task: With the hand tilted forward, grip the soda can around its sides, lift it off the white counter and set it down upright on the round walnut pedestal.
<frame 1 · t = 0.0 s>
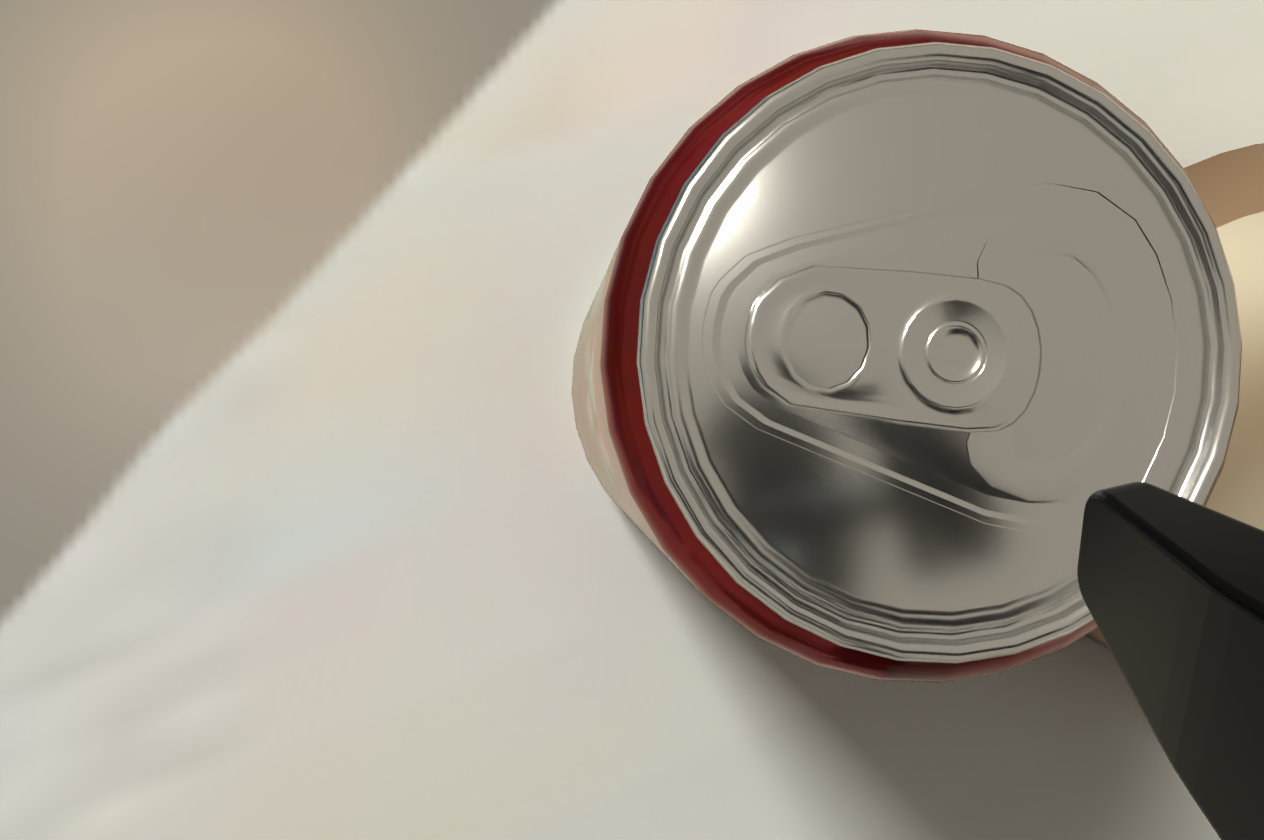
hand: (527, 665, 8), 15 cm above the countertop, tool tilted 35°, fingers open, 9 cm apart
soda can: (739, 388, 24), on the countertop
pedestal: (1213, 423, 24), on the countertop
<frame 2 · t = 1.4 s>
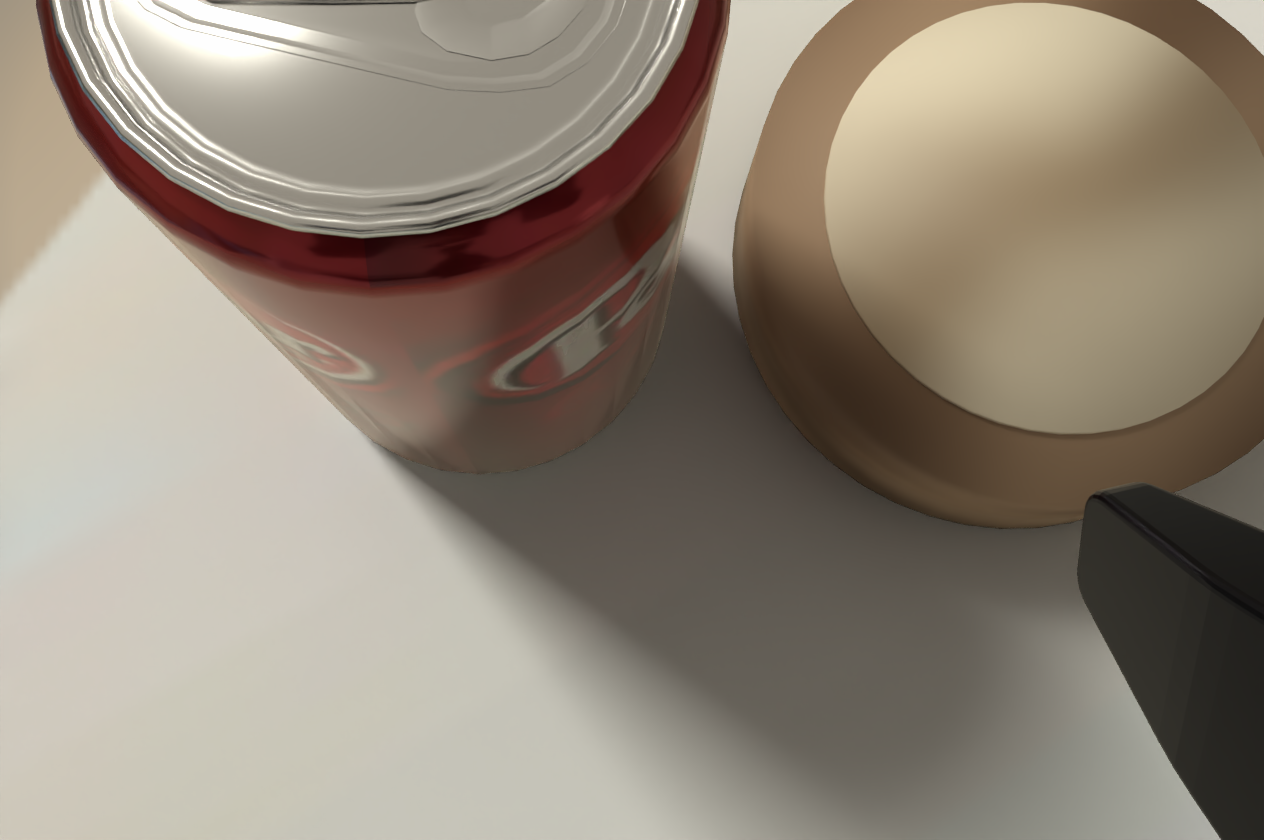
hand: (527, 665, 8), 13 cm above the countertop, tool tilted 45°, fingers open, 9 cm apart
soda can: (488, 308, 23), on the countertop
pedestal: (992, 268, 23), on the countertop
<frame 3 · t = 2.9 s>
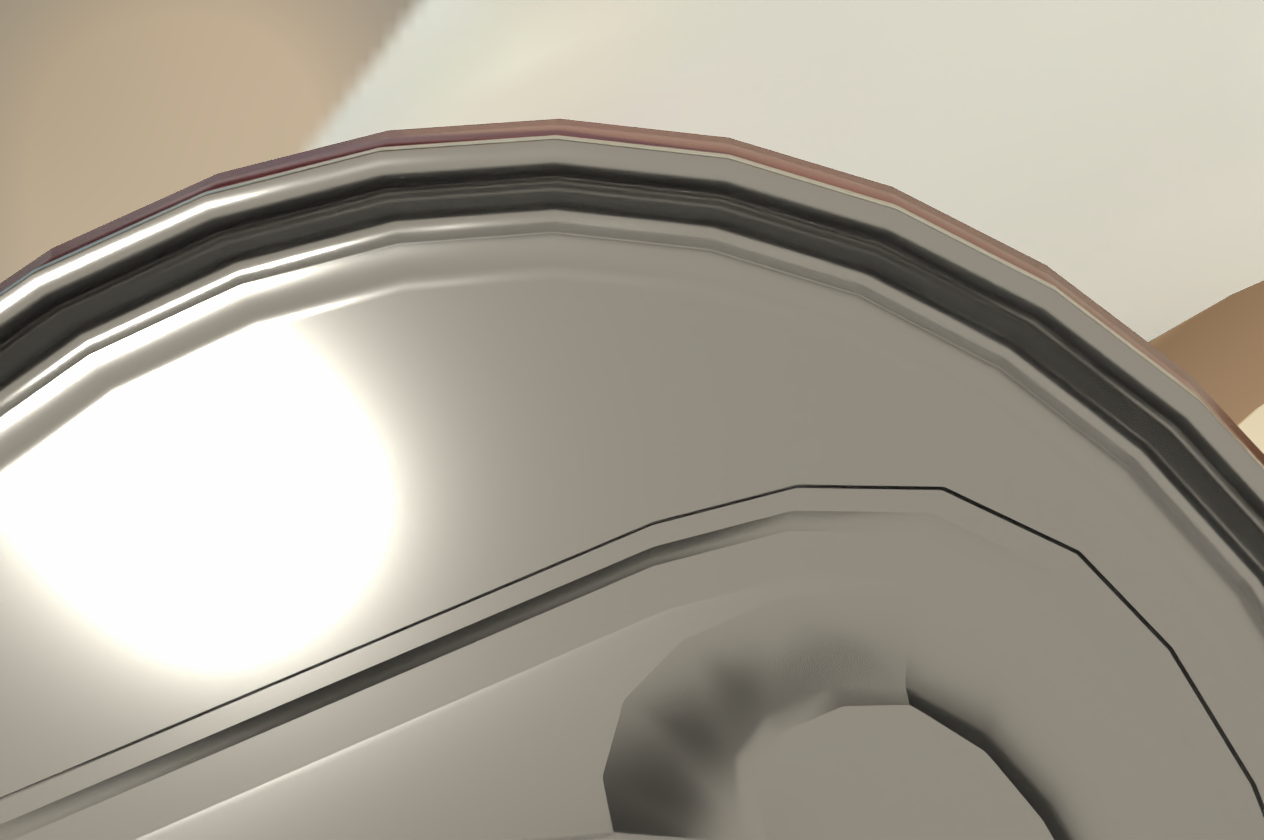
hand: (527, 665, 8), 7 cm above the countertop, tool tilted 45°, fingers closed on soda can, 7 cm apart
soda can: (577, 764, 15), on the countertop, touching gripper
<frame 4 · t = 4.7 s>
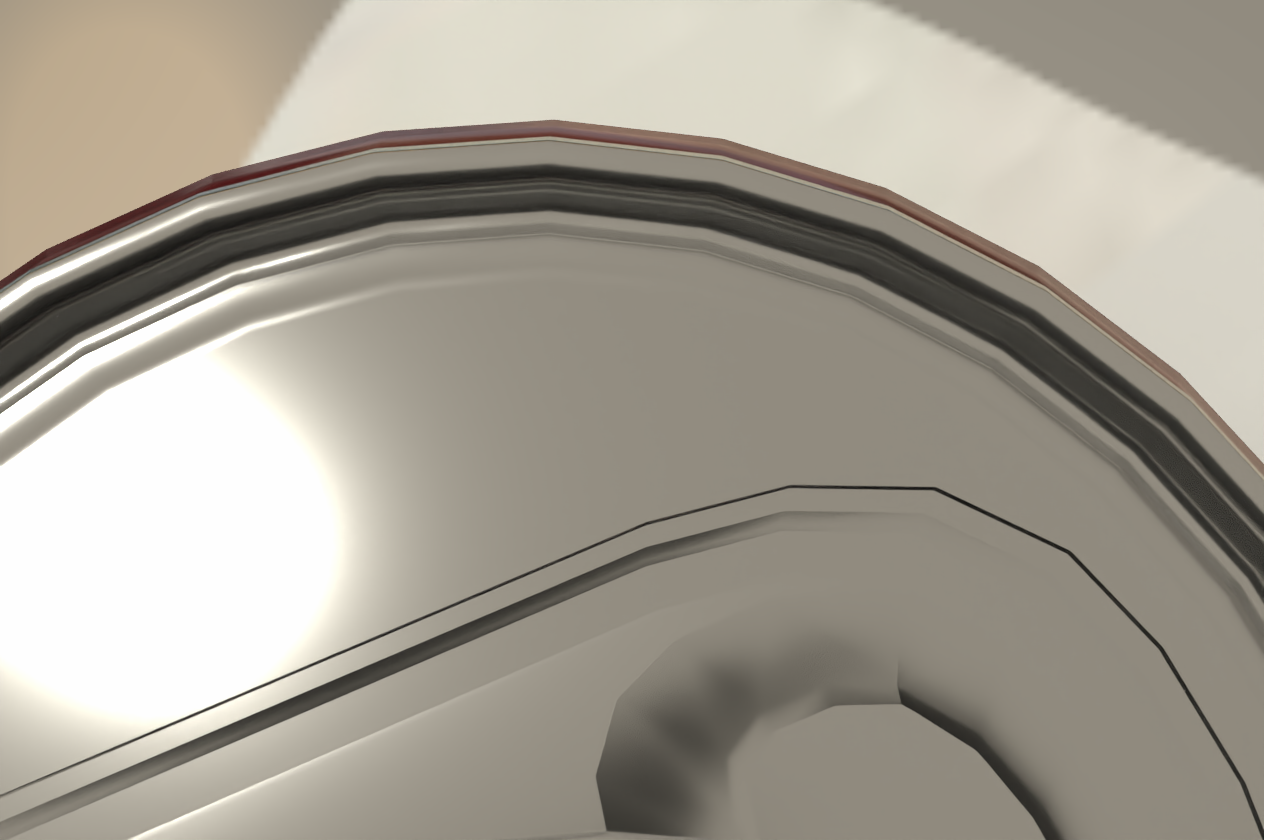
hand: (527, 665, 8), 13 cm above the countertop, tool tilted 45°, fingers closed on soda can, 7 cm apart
soda can: (574, 761, 15), point 6 cm above the countertop, touching gripper
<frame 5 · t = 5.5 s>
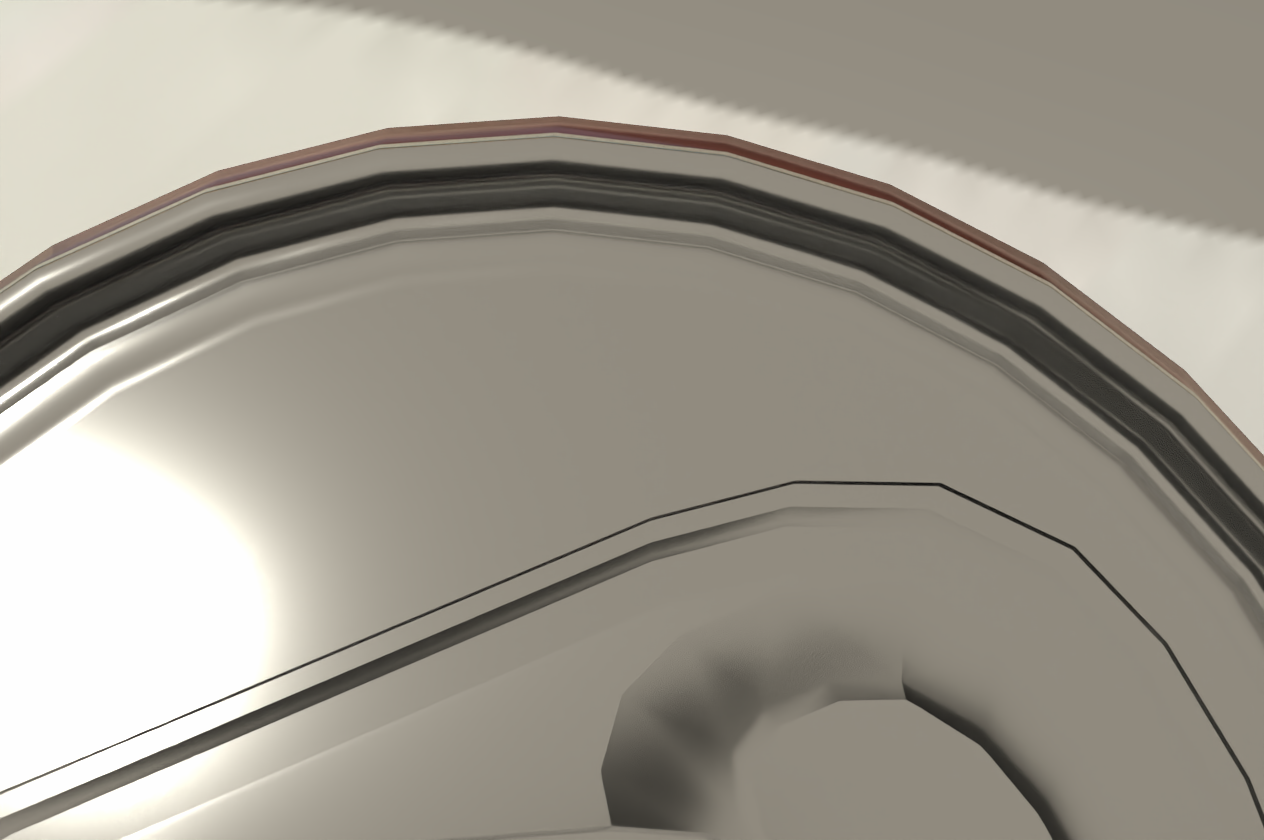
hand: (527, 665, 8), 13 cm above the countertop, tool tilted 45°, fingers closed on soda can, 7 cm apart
soda can: (576, 760, 15), point 5 cm above the countertop, touching gripper
when the fingers open (11 cm above the countertop, at t = 6.4 s): soda can stays where it is, resting on pedestal.
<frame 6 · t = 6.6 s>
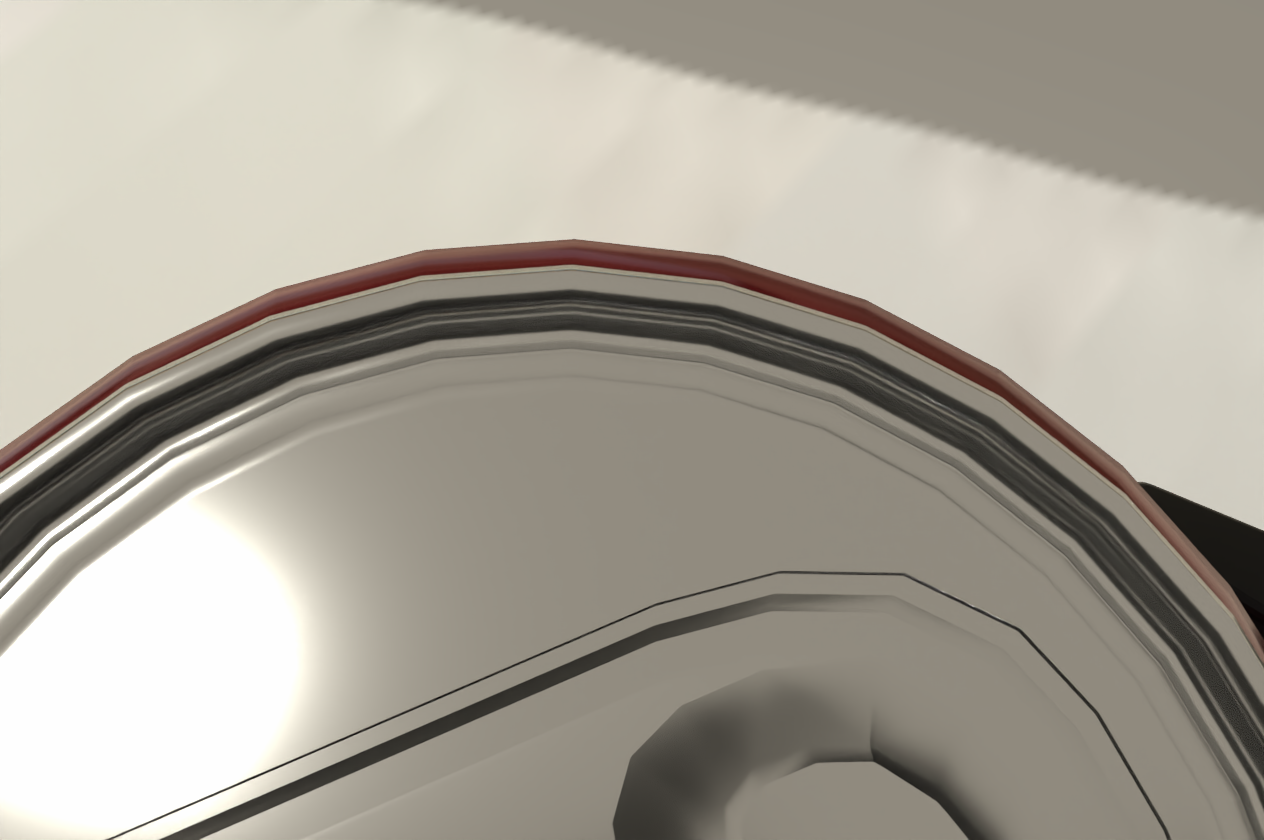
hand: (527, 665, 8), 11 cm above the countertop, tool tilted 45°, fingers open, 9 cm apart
soda can: (581, 772, 16), point 3 cm above the countertop, touching pedestal
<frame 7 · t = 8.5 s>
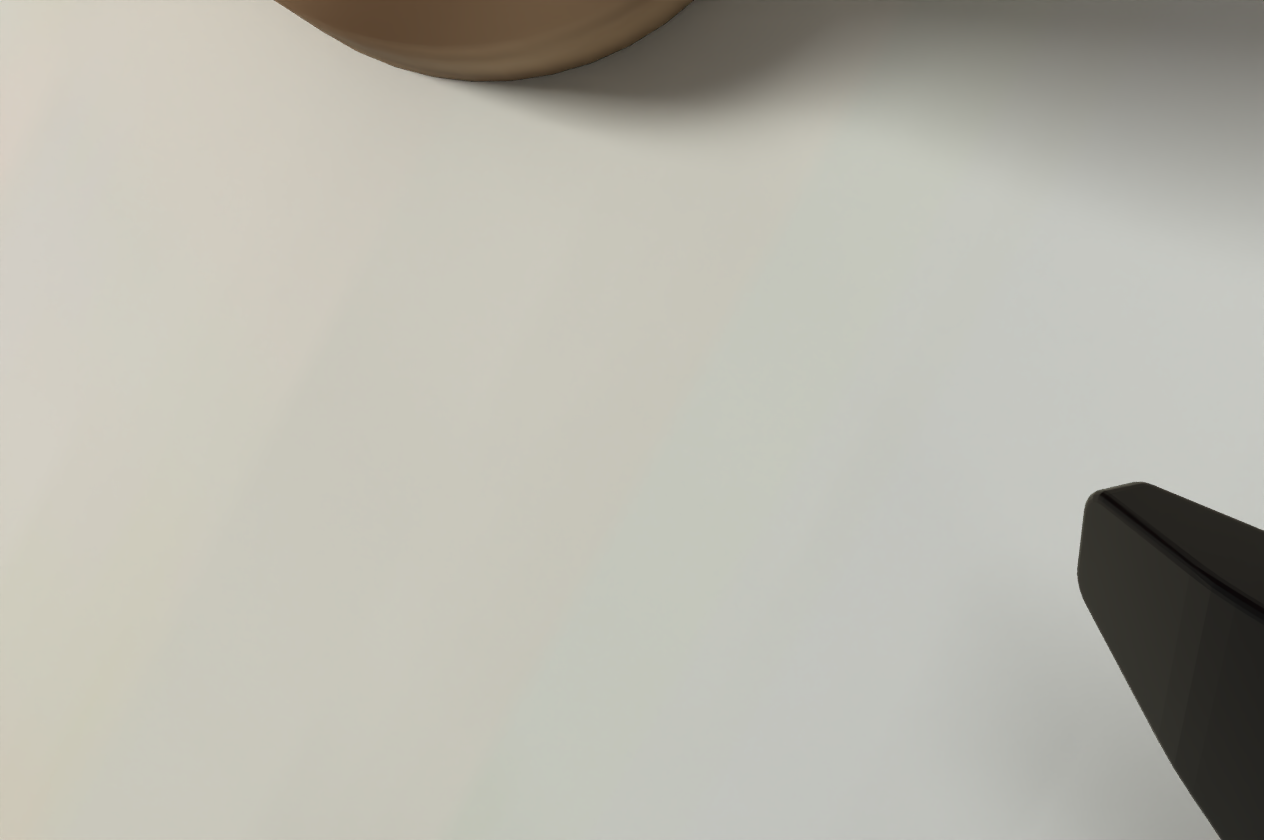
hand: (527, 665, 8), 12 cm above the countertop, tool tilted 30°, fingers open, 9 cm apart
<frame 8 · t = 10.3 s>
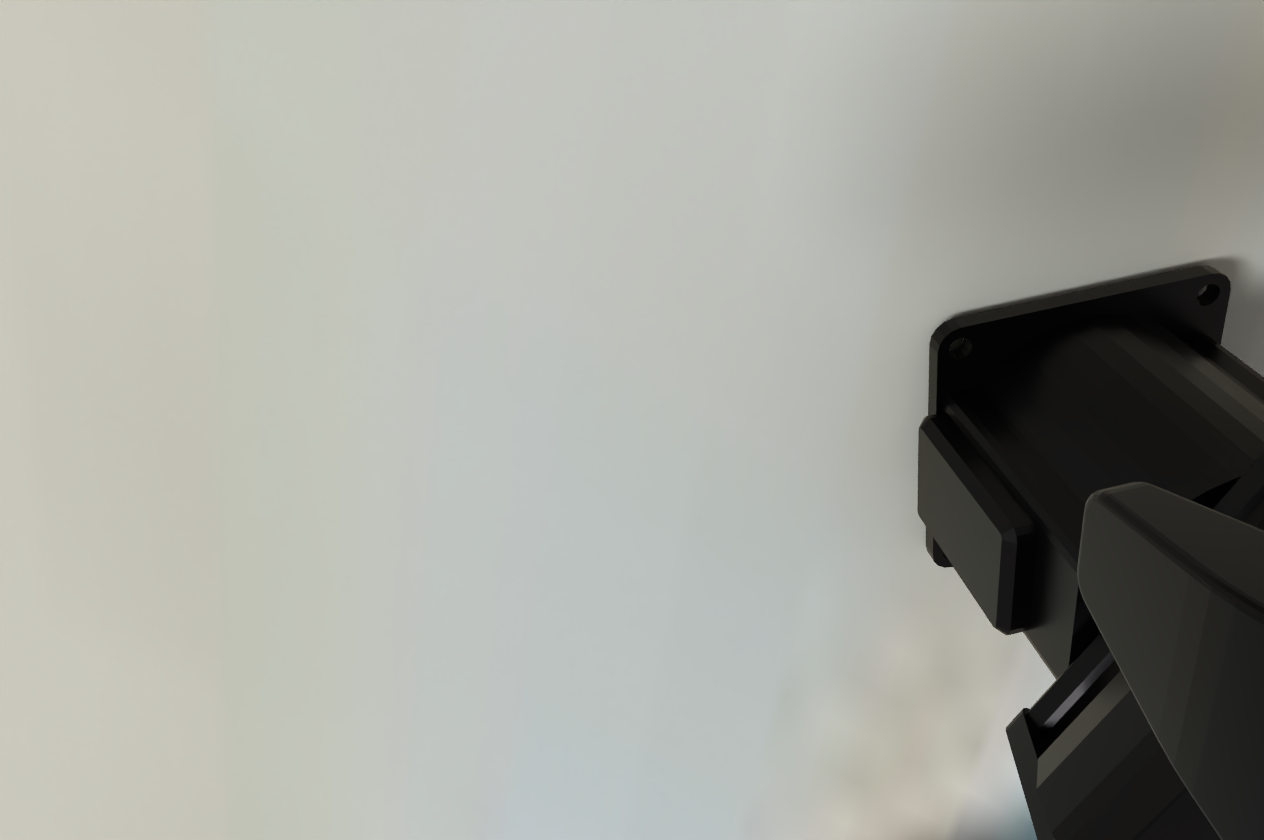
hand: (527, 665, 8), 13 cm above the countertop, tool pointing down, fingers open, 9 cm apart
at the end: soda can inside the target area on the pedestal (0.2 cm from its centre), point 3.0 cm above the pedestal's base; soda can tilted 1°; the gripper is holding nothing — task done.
